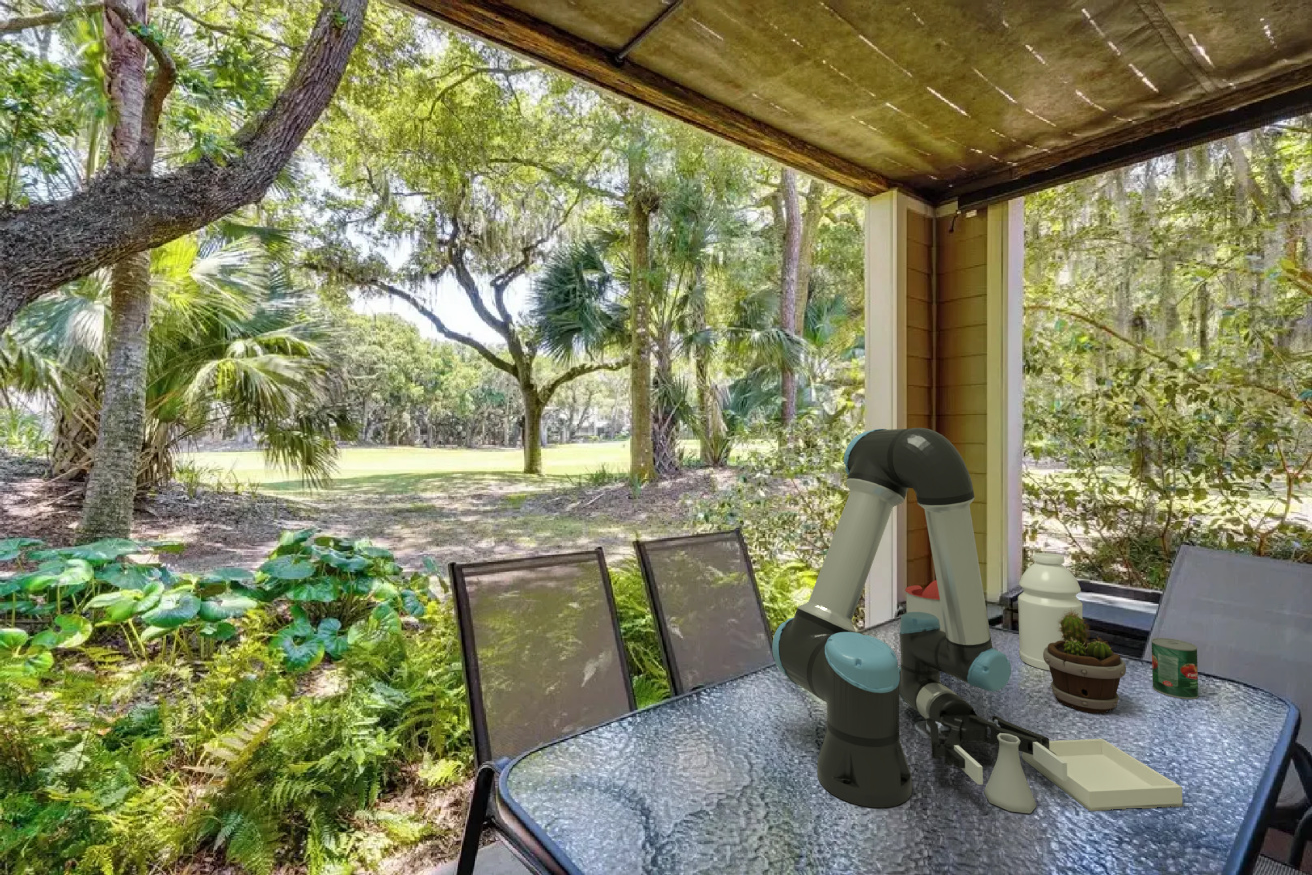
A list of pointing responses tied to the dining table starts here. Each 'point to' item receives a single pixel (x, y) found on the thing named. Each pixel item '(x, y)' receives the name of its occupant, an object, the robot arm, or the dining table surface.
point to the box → (1108, 777)
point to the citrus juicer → (925, 601)
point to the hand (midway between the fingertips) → (1023, 773)
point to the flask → (1009, 779)
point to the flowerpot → (1083, 668)
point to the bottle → (1045, 606)
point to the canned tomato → (1175, 668)
